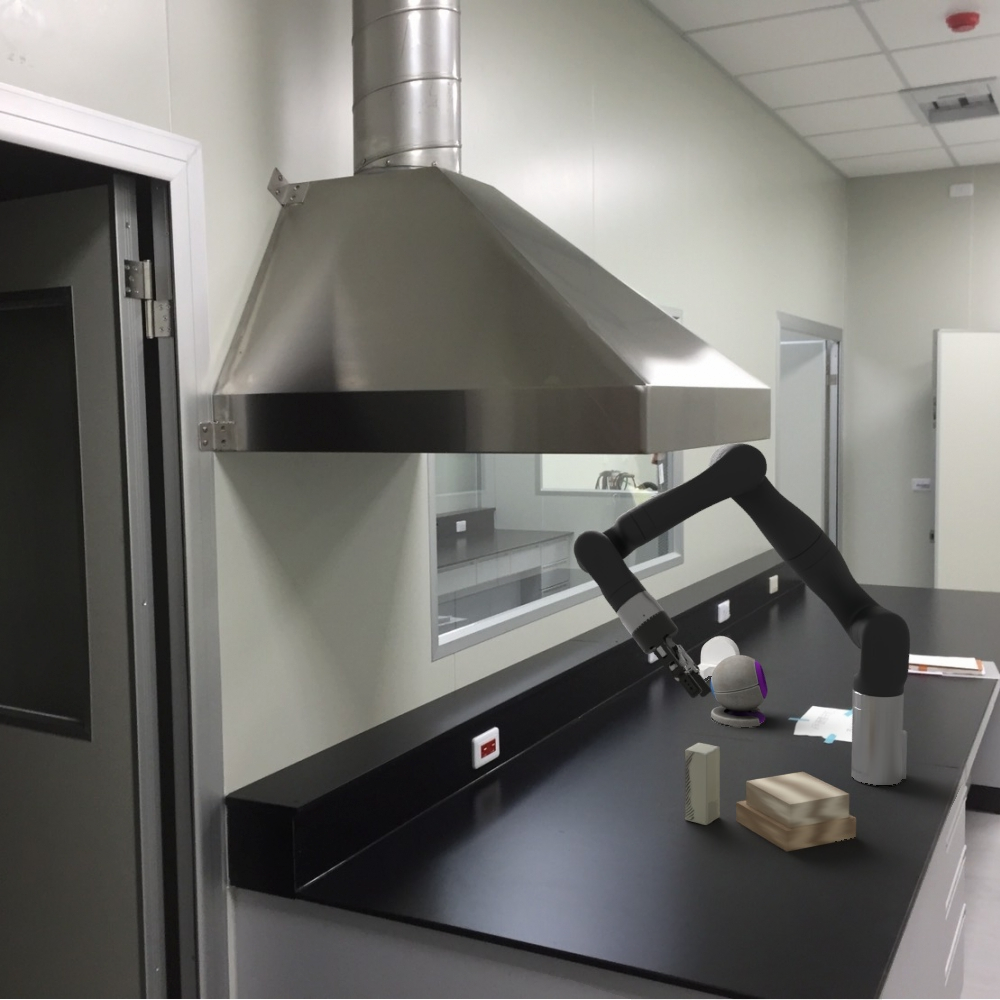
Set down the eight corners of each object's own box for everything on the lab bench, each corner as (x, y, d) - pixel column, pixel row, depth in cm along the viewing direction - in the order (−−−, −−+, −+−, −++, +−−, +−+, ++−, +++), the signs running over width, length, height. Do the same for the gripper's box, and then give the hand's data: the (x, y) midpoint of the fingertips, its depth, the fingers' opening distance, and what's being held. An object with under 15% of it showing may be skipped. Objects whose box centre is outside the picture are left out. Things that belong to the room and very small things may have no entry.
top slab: (802, 793, 188) (803, 771, 187) (848, 817, 177) (849, 793, 176) (746, 803, 183) (746, 781, 183) (789, 828, 172) (790, 804, 172)
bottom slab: (802, 812, 190) (802, 790, 189) (855, 841, 177) (856, 817, 176) (736, 824, 184) (736, 802, 184) (786, 855, 172) (786, 831, 171)
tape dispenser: (746, 671, 291) (746, 632, 290) (728, 686, 275) (728, 645, 274) (712, 667, 296) (712, 629, 295) (692, 682, 280) (692, 642, 279)
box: (698, 811, 189) (698, 741, 188) (720, 817, 186) (721, 746, 185) (683, 820, 185) (683, 748, 184) (706, 827, 182) (706, 753, 181)
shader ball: (766, 729, 237) (767, 663, 236) (708, 725, 241) (708, 660, 239) (768, 713, 250) (768, 650, 248) (712, 710, 253) (713, 648, 252)
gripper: (653, 606, 185) (711, 682, 179) (671, 611, 198) (726, 681, 192) (620, 633, 187) (677, 708, 181) (641, 636, 200) (694, 706, 194)
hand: (702, 694), depth 187 cm, fingers open, 8 cm apart
